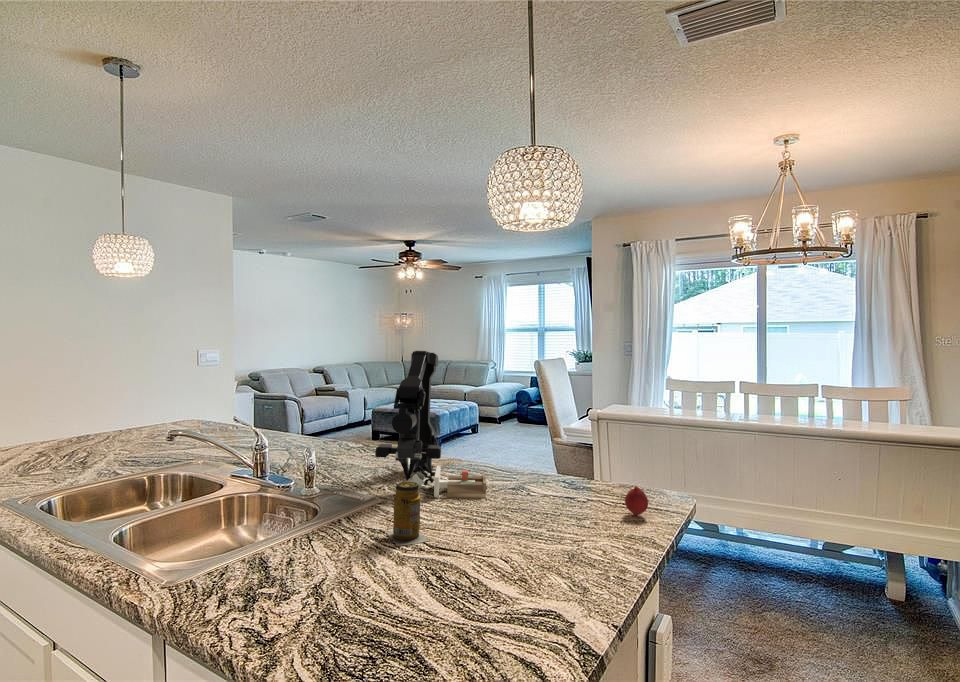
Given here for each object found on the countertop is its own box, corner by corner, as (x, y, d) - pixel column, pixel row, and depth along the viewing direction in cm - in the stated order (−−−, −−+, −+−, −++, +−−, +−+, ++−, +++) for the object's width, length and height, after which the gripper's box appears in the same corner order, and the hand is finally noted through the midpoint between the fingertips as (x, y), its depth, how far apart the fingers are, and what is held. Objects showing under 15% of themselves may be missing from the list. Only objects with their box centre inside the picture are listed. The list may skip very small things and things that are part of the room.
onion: (651, 515, 134) (652, 485, 134) (641, 521, 130) (642, 490, 130) (630, 510, 138) (631, 480, 138) (620, 515, 134) (621, 485, 134)
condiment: (416, 528, 123) (417, 478, 123) (428, 541, 115) (429, 488, 115) (386, 533, 120) (387, 481, 119) (396, 547, 112) (397, 492, 112)
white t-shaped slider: (436, 484, 156) (436, 465, 156) (474, 484, 157) (474, 465, 157) (434, 497, 144) (434, 476, 144) (475, 497, 145) (475, 477, 145)
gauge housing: (448, 486, 156) (448, 473, 156) (484, 486, 156) (484, 473, 156) (447, 497, 146) (447, 483, 146) (485, 497, 146) (486, 483, 146)
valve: (412, 503, 143) (426, 488, 155) (427, 487, 142) (440, 473, 154) (395, 486, 144) (411, 473, 156) (409, 470, 143) (424, 458, 154)
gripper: (372, 431, 141) (370, 488, 142) (439, 433, 142) (438, 489, 142) (379, 424, 153) (378, 477, 153) (442, 426, 153) (440, 478, 153)
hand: (408, 480), depth 150 cm, fingers closed
